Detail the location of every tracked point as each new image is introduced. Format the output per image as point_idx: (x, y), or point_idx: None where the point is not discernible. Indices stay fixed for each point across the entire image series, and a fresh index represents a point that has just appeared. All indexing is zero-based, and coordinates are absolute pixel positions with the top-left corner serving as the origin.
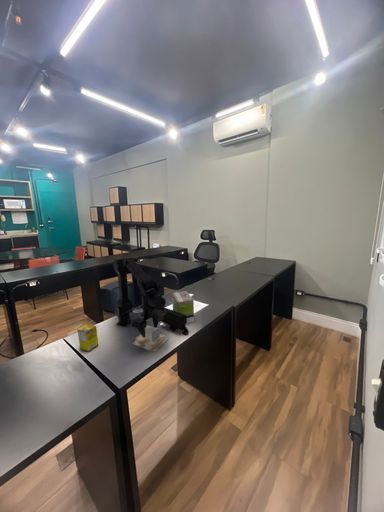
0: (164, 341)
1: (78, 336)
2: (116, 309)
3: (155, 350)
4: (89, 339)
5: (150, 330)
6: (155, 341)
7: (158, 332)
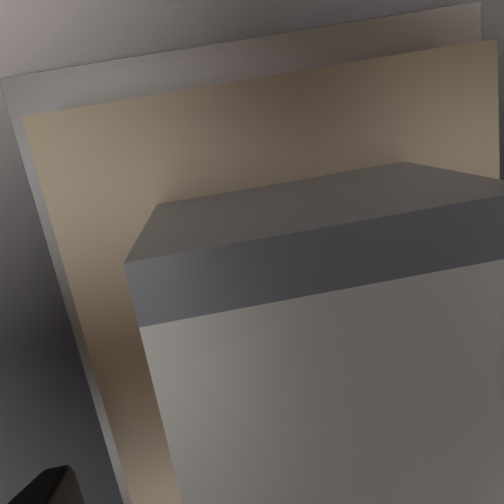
0: (133, 70)
1: None
2: None
3: (460, 5)
4: None
5: (405, 441)
6: (379, 121)
7: (196, 225)
